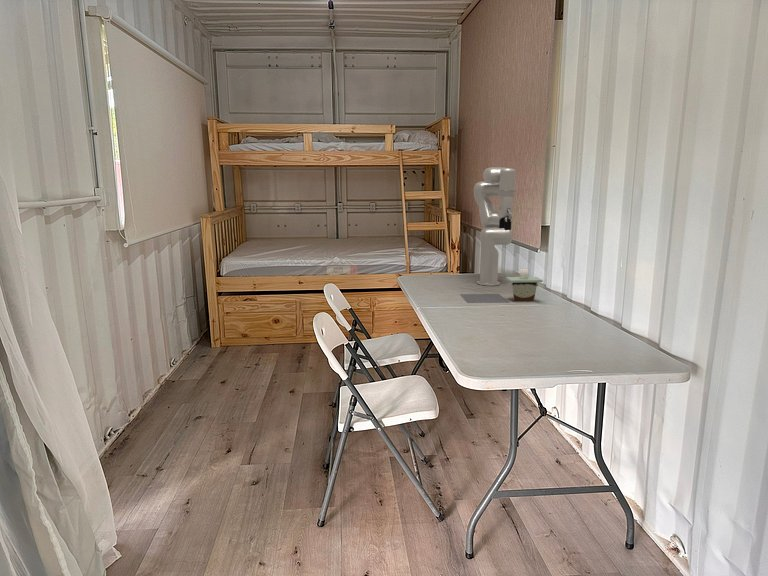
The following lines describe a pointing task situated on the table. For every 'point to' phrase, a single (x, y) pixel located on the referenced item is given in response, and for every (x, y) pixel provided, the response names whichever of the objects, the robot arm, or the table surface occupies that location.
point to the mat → (484, 298)
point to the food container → (524, 291)
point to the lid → (523, 277)
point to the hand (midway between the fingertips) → (504, 229)
